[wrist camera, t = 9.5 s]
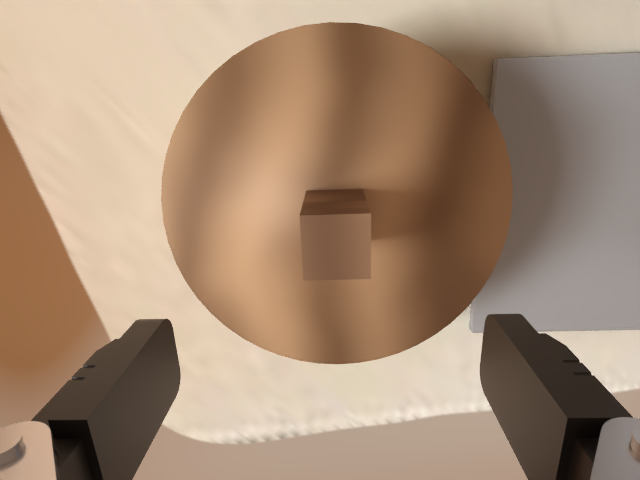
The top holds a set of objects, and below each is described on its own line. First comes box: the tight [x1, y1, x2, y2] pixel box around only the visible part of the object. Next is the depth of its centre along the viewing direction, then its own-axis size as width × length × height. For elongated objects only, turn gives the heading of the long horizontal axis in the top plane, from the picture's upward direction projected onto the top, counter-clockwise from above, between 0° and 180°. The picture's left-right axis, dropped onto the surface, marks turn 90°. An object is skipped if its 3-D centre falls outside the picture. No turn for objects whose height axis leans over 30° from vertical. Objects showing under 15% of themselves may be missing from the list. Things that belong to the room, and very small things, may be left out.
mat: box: [469, 53, 640, 333], centre depth 30 cm, size 20×20×1 cm
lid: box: [161, 22, 513, 364], centre depth 21 cm, size 19×19×6 cm
